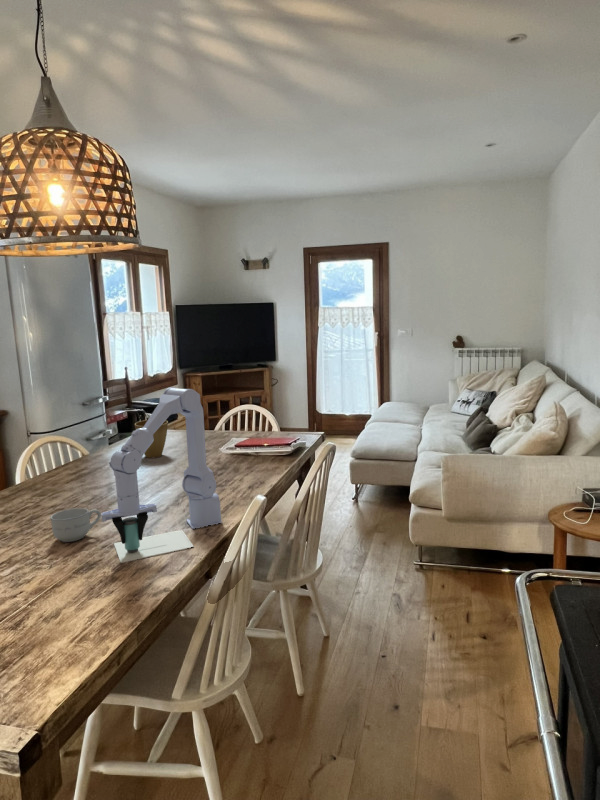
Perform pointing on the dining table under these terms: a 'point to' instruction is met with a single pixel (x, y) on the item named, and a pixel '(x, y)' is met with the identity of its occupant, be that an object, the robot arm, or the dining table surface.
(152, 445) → the plant pot
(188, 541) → the paper pad
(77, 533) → the teacup
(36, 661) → the dining table surface
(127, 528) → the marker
